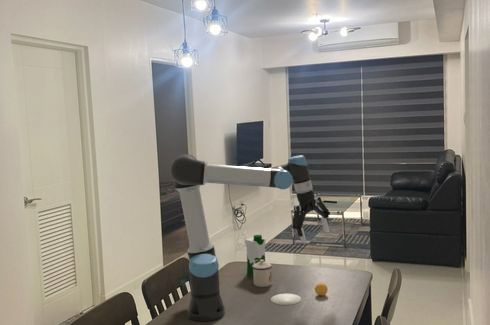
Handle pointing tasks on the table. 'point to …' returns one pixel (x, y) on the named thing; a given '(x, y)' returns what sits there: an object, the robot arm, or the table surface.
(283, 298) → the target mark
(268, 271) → the teacup with lid
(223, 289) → the table surface
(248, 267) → the milk carton
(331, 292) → the table surface
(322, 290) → the ball
